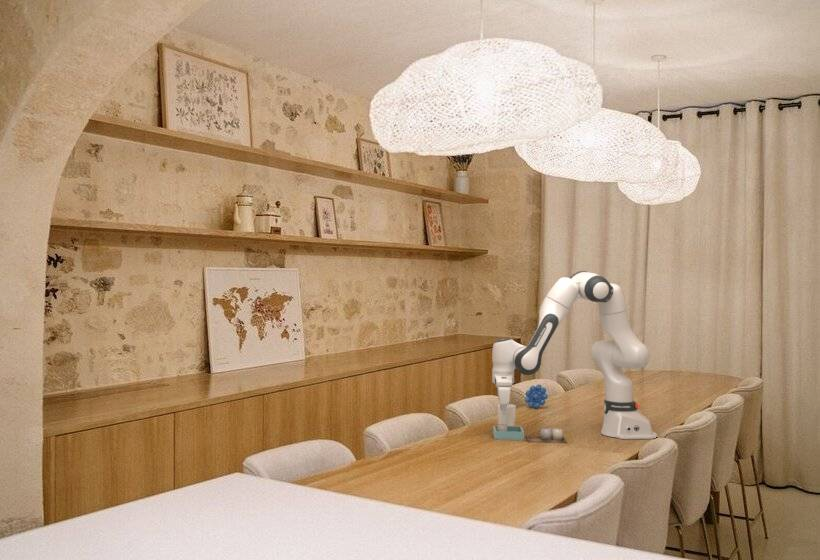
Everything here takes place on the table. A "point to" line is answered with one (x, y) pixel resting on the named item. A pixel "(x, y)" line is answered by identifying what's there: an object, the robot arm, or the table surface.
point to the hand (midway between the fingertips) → (503, 412)
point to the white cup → (507, 415)
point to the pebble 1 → (501, 427)
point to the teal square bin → (509, 433)
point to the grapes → (536, 396)
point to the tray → (538, 440)
